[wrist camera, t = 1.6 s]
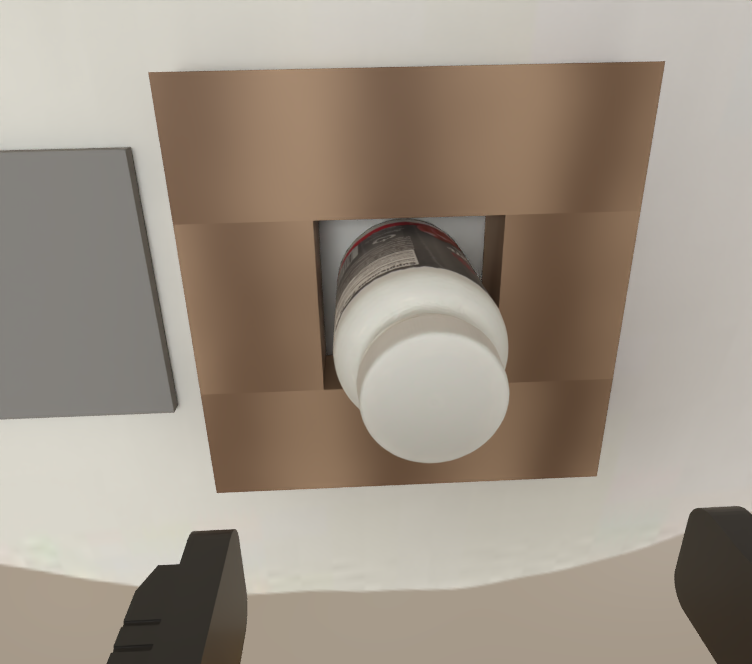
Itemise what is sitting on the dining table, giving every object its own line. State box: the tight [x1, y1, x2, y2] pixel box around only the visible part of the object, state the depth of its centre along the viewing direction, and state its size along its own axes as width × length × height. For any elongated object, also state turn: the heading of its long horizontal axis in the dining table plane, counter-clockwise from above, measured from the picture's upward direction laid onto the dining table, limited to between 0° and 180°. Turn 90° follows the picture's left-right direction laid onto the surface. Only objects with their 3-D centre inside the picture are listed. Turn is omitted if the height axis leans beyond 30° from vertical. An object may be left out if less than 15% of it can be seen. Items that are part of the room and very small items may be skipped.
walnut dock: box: [148, 61, 665, 493], centre depth 23 cm, size 16×16×3 cm
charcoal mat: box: [0, 147, 178, 419], centre depth 23 cm, size 11×11×1 cm
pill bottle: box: [333, 219, 509, 463], centre depth 20 cm, size 5×5×10 cm
